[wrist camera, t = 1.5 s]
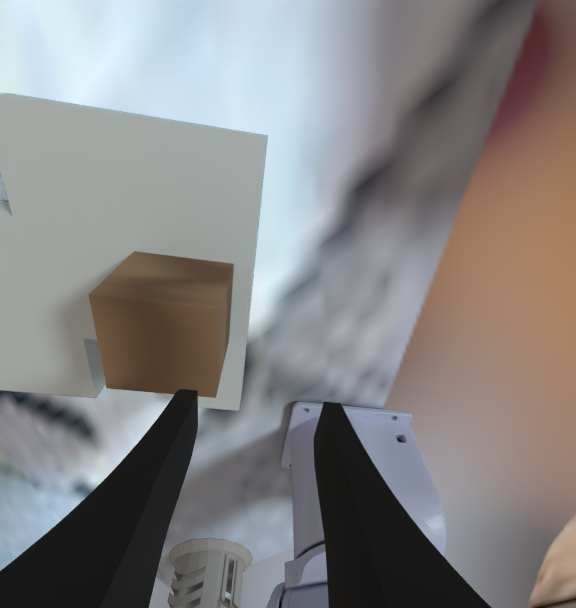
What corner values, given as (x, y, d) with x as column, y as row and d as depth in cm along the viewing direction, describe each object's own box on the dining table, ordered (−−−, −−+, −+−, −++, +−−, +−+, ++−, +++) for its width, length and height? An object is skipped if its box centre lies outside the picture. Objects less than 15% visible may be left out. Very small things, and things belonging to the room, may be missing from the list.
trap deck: (267, 135, 15) (263, 143, 12) (241, 389, 24) (234, 442, 20) (-282, 45, 13) (-511, 17, 9) (-95, 358, 22) (-176, 410, 18)
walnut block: (233, 263, 17) (219, 309, 13) (229, 340, 19) (215, 397, 15) (134, 251, 16) (88, 294, 12) (142, 331, 19) (106, 388, 15)
